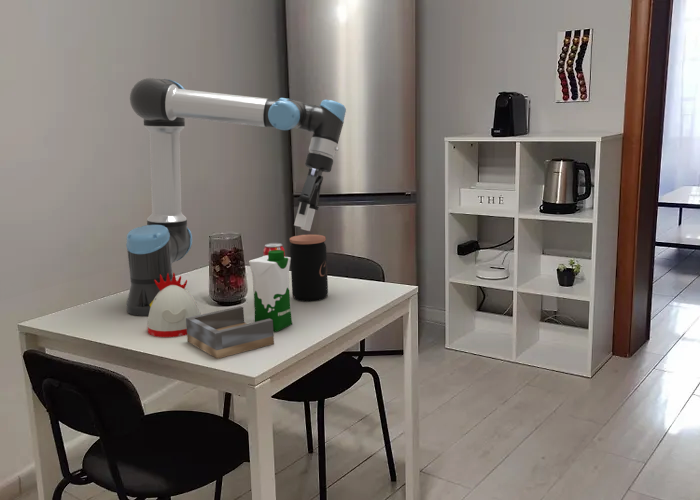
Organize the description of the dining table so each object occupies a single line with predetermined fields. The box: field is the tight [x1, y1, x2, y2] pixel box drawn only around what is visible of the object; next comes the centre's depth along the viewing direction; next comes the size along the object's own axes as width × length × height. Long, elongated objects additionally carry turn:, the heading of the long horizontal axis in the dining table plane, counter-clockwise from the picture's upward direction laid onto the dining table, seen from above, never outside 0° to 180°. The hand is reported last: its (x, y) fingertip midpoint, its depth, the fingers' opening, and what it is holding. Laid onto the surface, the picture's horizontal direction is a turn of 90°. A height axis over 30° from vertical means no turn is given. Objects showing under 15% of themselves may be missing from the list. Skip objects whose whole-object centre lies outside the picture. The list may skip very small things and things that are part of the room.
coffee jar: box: [289, 234, 329, 302], centre depth 204 cm, size 11×11×18 cm
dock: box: [186, 305, 275, 359], centre depth 167 cm, size 16×15×6 cm
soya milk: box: [248, 250, 293, 333], centre depth 177 cm, size 9×9×20 cm
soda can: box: [262, 242, 286, 257], centre depth 226 cm, size 7×7×12 cm
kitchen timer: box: [147, 272, 202, 338], centre depth 179 cm, size 14×14×15 cm
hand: (302, 228), depth 195 cm, fingers open, 13 cm apart
